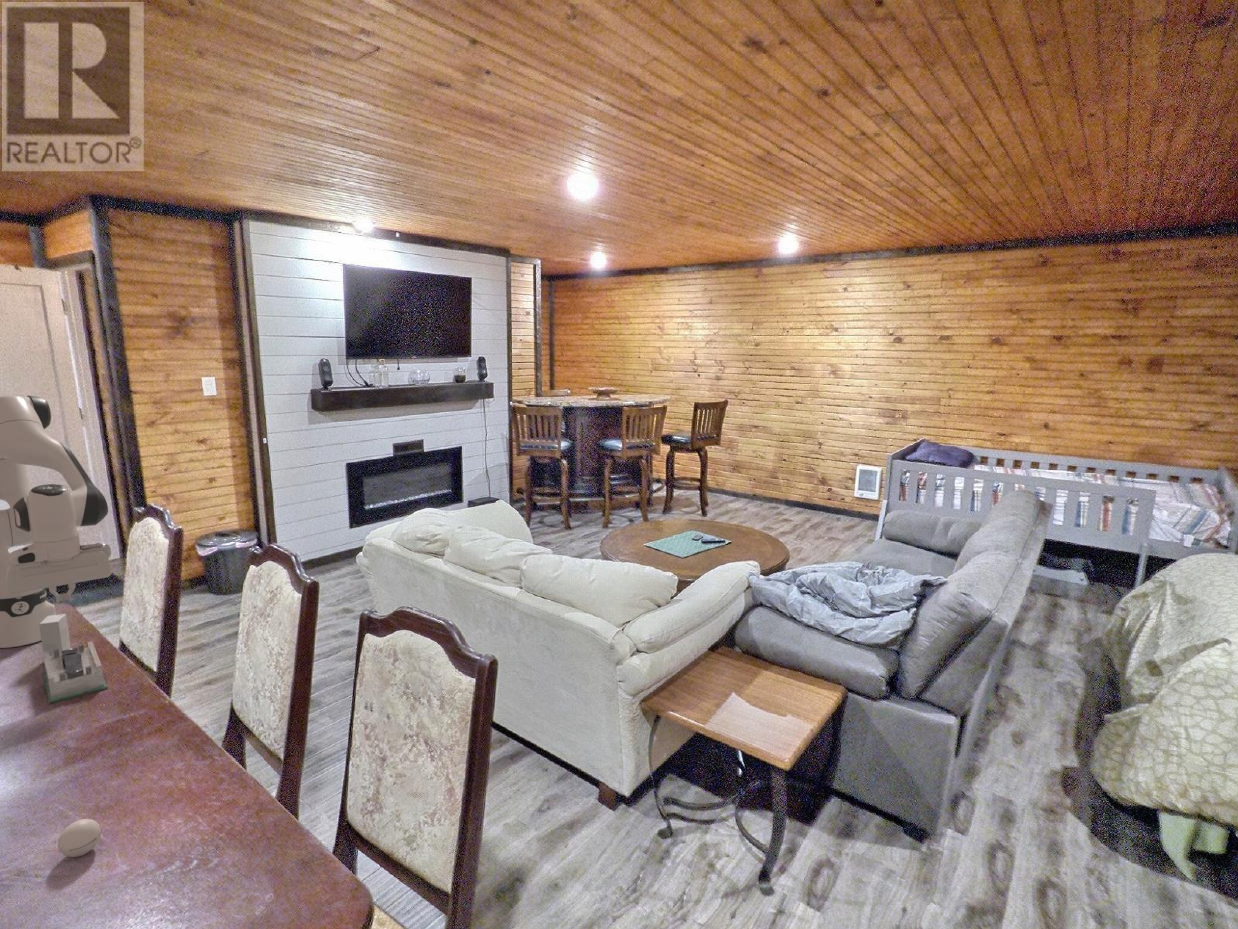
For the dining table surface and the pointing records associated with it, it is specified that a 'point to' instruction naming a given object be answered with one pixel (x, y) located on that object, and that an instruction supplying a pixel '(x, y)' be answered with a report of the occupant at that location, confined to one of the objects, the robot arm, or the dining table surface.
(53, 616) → the skincare box
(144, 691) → the dining table surface
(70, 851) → the beige oval egg shape
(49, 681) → the fuse holder
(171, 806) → the dining table surface
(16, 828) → the dining table surface
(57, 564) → the robot arm
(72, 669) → the strap
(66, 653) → the strap
